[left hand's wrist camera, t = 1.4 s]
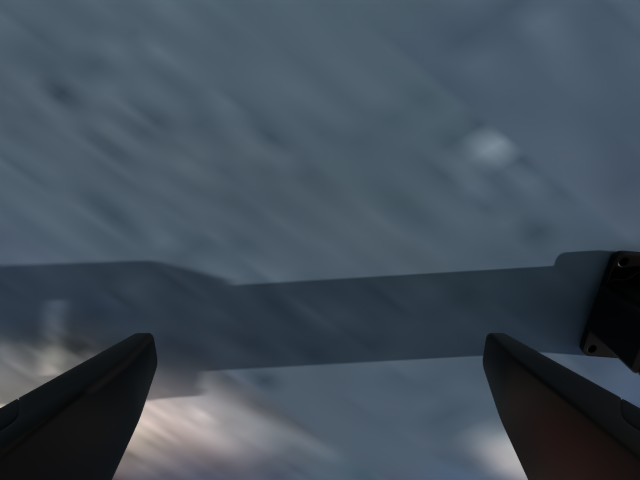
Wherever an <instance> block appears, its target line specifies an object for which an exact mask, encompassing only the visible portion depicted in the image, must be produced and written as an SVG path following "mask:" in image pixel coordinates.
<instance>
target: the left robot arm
mask: <svg viewBox="0 0 640 480" xmlns="http://www.w3.org/2000/svg"><path fill="white" fill-rule="evenodd" d="M622 258H624V260H623V261H622V262H621V263H619V261H620V260H621V259H622ZM591 345H592V347H590V348H589V346H591ZM580 349H581V350H582V351H583V352H584V353H585V354H586V355H588V356H597V357H611V358H619V359H620V360H621V361H622V362H623V363H624V364H625V365H626V366H627V367H628V368H629V369H630V370H631V371H632V372H634V373H638V374H639V375H640V252H631V251H618V252H615V253H614V254H613V255H612V256H611V258H610V260H609V263H608V266H607V269H606V272H605V274H604V277H603V280H602V283H601V286H600V289H599V291H598V294H597V296H596V299H595V302H594V305H593V308H592V311H591V313H590V316H589V319H588V322H587V325H586V328H585V331H584V334H583V337H582V340H581V343H580ZM156 367H157V355H156V348H155V342H154V337H153V335H152V334H151V333H136V334H134V335H132V336H130V337H129V338H127V339H125V340H123V341H121V342H119V343H118V344H116V345H114V346H112V347H110V348H109V349H107V350H105V351H103V352H101V353H100V354H98V355H96V356H94V357H92V358H90V359H89V360H87V361H85V362H83V363H81V364H80V365H78V366H76V367H74V368H72V369H71V370H69V371H67V372H65V373H63V374H61V375H60V376H58V377H56V378H54V379H52V380H51V381H49V382H47V383H45V384H43V385H42V386H40V387H38V388H36V389H34V390H33V391H31V392H29V393H27V394H25V395H23V396H22V397H20V398H19V400H18V399H16V400H14V401H12V402H11V403H9V404H7V405H5V406H3V407H2V408H0V480H112V478H113V476H114V474H115V472H116V469H117V467H118V465H119V463H120V461H121V458H122V456H123V454H124V452H125V450H126V448H127V445H128V443H129V441H130V439H131V437H132V435H133V432H134V430H135V428H136V426H137V423H138V421H139V419H140V416H141V413H142V411H143V408H144V405H145V401H146V398H147V395H148V392H149V389H150V386H151V383H152V380H153V377H154V374H155V371H156ZM483 367H484V371H485V374H486V377H487V380H488V383H489V386H490V389H491V392H492V395H493V398H494V401H495V405H496V408H497V411H498V413H499V416H500V419H501V421H502V423H503V426H504V428H505V430H506V432H507V435H508V437H509V439H510V441H511V443H512V445H513V448H514V450H515V452H516V454H517V456H518V458H519V461H520V463H521V465H522V467H523V469H524V472H525V474H526V476H527V478H528V480H640V408H638V407H637V406H635V405H633V404H631V403H629V402H628V401H626V400H624V399H622V400H621V398H620V397H618V396H617V395H615V394H613V393H611V392H609V391H608V390H606V389H604V388H602V387H600V386H598V385H597V384H595V383H593V382H591V381H589V380H588V379H586V378H584V377H582V376H580V375H579V374H577V373H575V372H573V371H571V370H569V369H568V368H566V367H564V366H562V365H560V364H559V363H557V362H555V361H553V360H551V359H549V358H548V357H546V356H544V355H542V354H540V353H539V352H537V351H535V350H533V349H531V348H530V347H528V346H526V345H524V344H522V343H521V342H519V341H517V340H515V339H513V338H511V337H510V336H508V335H506V334H504V333H489V334H488V335H487V337H486V342H485V348H484V355H483Z"/></svg>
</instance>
